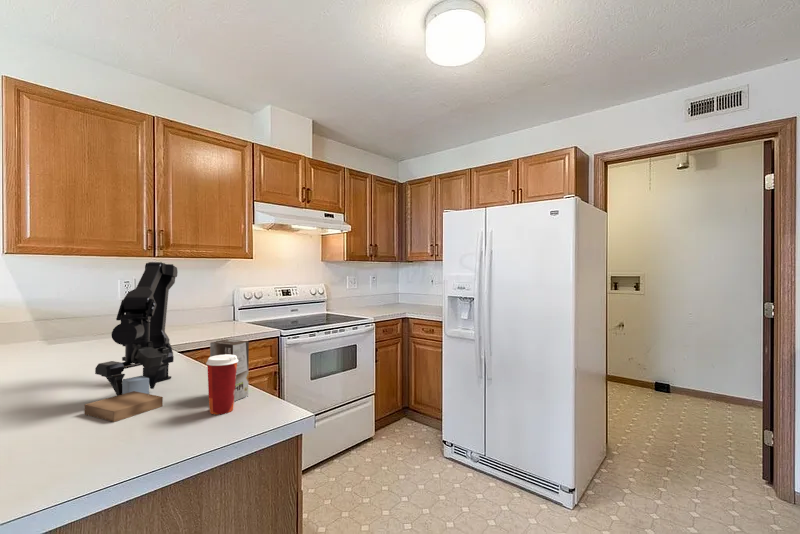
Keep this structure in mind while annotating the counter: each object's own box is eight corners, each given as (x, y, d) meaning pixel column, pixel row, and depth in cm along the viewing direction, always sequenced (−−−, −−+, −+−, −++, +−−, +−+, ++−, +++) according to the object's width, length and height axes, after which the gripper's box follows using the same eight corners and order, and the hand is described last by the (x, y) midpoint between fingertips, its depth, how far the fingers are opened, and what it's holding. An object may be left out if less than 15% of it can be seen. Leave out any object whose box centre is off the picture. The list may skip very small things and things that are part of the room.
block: (141, 392, 114) (142, 375, 114) (148, 395, 111) (149, 378, 111) (122, 396, 110) (122, 379, 110) (128, 400, 107) (129, 382, 107)
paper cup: (243, 407, 101) (244, 355, 101) (221, 417, 94) (222, 361, 94) (220, 404, 104) (221, 353, 104) (197, 413, 96) (198, 358, 97)
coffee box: (249, 395, 111) (250, 340, 111) (232, 402, 105) (233, 344, 105) (226, 391, 114) (226, 338, 115) (208, 398, 109) (209, 342, 109)
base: (133, 400, 106) (133, 391, 106) (162, 406, 102) (162, 396, 102) (84, 414, 95) (84, 404, 95) (114, 422, 91) (114, 411, 91)
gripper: (120, 346, 98) (119, 407, 97) (186, 335, 115) (185, 387, 115) (94, 343, 102) (93, 401, 102) (161, 333, 119) (160, 383, 119)
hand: (136, 392), depth 109 cm, fingers open, 9 cm apart
